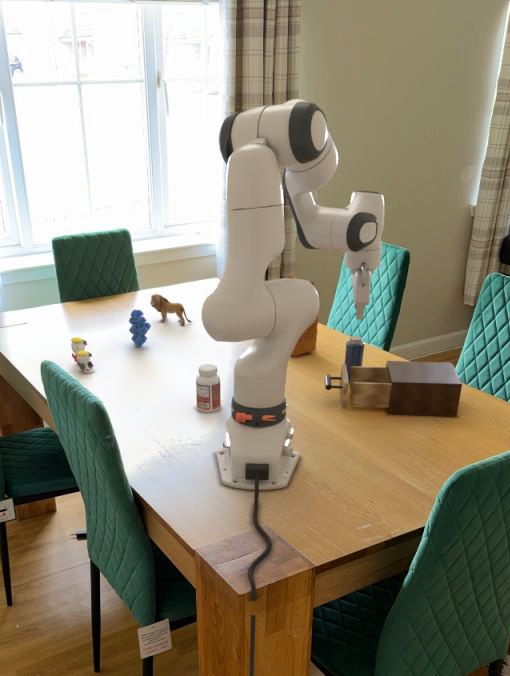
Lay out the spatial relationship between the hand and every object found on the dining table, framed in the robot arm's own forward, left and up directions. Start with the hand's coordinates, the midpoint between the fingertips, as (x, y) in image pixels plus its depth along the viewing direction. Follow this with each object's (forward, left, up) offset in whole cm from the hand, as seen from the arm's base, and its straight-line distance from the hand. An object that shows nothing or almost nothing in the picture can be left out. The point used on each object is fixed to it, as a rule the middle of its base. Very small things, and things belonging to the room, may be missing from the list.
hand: (358, 313), depth 194 cm
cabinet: (-13, -16, -20) cm, 28 cm away
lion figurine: (+51, +59, -20) cm, 80 cm away
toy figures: (+6, +78, -20) cm, 80 cm away
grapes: (+26, +64, -20) cm, 72 cm away
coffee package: (+26, +16, -20) cm, 36 cm away
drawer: (-13, -2, -19) cm, 23 cm away
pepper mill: (+2, 0, -20) cm, 20 cm away
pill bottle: (-20, +38, -20) cm, 47 cm away
